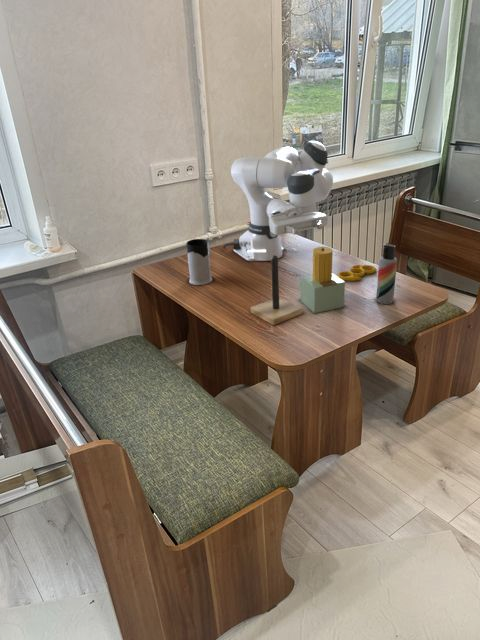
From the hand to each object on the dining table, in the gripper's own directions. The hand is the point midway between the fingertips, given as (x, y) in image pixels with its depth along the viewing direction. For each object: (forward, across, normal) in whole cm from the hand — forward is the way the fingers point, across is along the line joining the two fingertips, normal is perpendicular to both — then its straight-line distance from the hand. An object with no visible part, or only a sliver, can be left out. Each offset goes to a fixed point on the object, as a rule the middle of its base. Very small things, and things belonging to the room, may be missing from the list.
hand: (308, 229), depth 179 cm
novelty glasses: (-4, -22, -23) cm, 32 cm away
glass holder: (-28, +31, -21) cm, 47 cm away
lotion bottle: (+20, -18, -23) cm, 35 cm away
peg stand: (+12, +18, -22) cm, 31 cm away
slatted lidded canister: (+13, +1, -13) cm, 19 cm away
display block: (+12, +2, -22) cm, 25 cm away
